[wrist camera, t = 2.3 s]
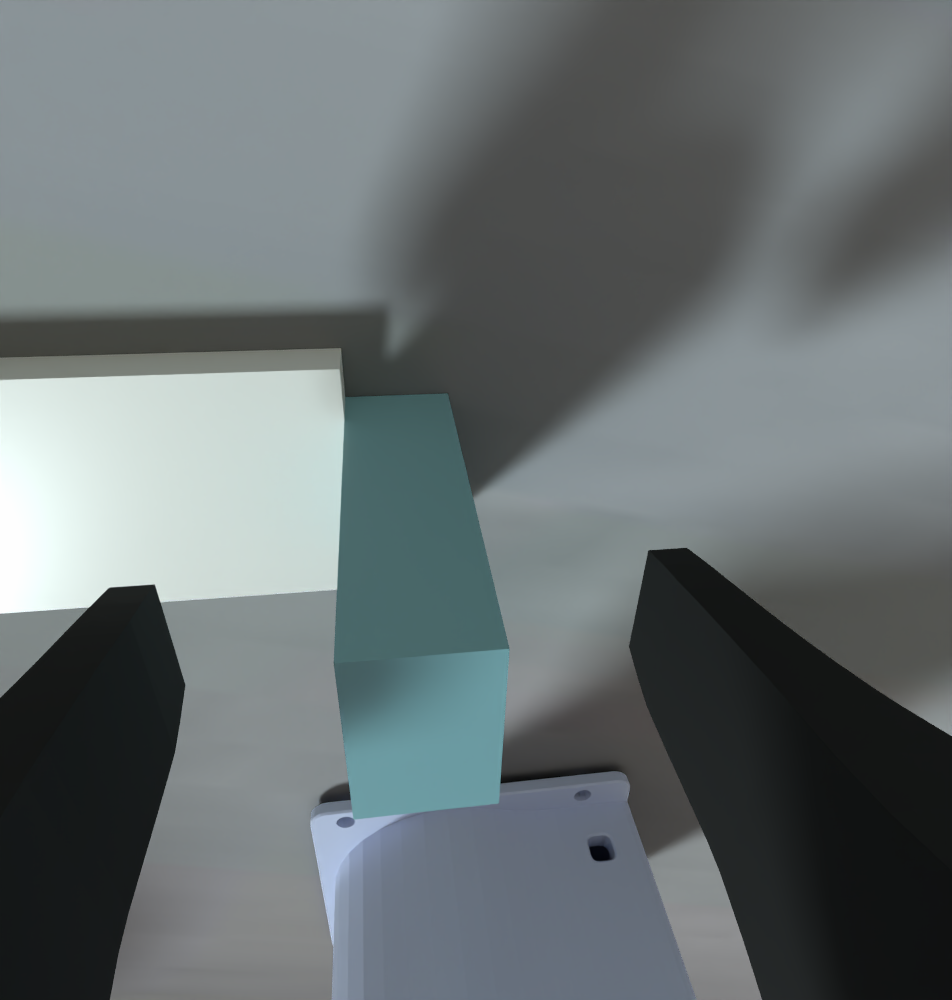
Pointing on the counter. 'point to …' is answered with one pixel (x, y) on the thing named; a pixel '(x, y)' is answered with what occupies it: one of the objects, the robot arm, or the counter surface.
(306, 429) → the scraper
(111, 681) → the robot arm
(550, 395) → the counter surface
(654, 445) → the counter surface
